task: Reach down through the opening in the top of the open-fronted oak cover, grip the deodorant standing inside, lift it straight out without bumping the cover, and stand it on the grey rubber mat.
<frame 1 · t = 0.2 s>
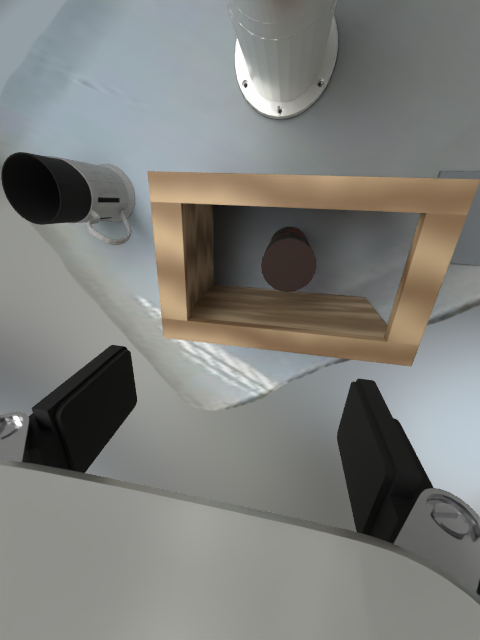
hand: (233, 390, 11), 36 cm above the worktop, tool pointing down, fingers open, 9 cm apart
cover: (288, 246, 42), on the worktop
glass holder: (124, 205, 44), on the worktop
deodorant: (288, 246, 42), resting in cover
mat: (471, 220, 37), on the worktop
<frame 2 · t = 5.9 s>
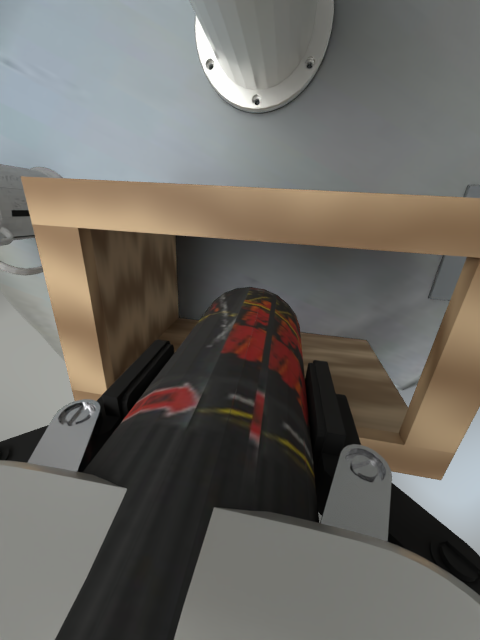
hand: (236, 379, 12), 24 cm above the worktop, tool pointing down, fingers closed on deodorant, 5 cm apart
cover: (270, 274, 33), on the worktop
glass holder: (66, 219, 35), on the worktop
deodorant: (250, 332, 16), point 19 cm above the worktop, touching gripper
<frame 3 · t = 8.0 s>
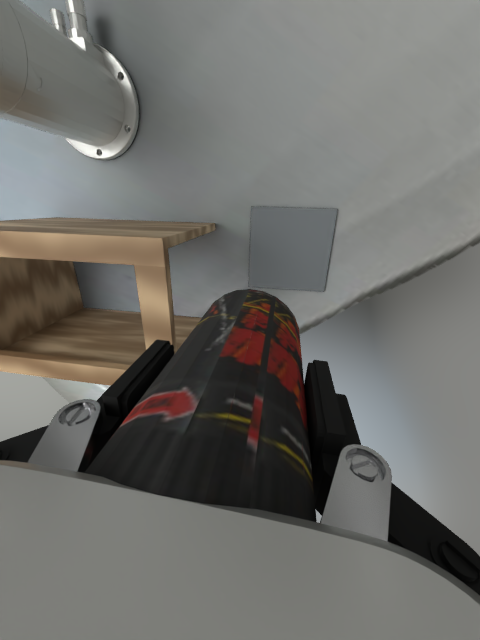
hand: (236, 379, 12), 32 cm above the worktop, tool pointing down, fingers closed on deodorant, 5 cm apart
cover: (139, 272, 45), on the worktop
deodorant: (249, 334, 16), point 27 cm above the worktop, touching gripper
mat: (289, 250, 40), on the worktop
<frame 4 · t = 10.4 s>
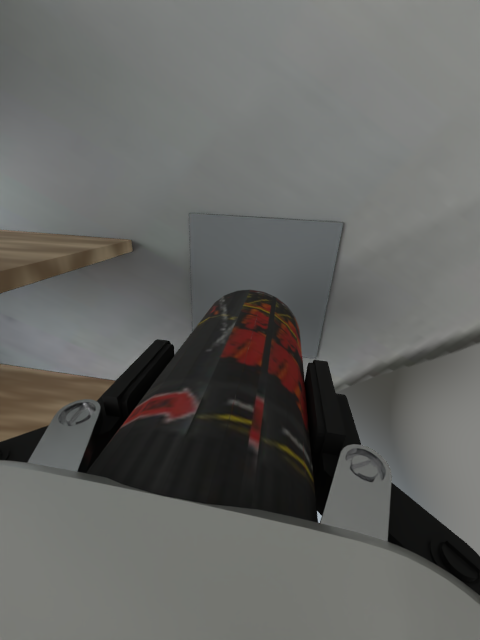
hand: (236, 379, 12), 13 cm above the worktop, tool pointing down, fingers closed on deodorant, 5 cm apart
cover: (23, 312, 28), on the worktop
deodorant: (250, 335, 16), point 8 cm above the worktop, touching gripper
mat: (257, 290, 23), on the worktop
when the fingers open (6 cm above the worktop, at t = 12.2 s): deodorant stays where it is, resting on mat.
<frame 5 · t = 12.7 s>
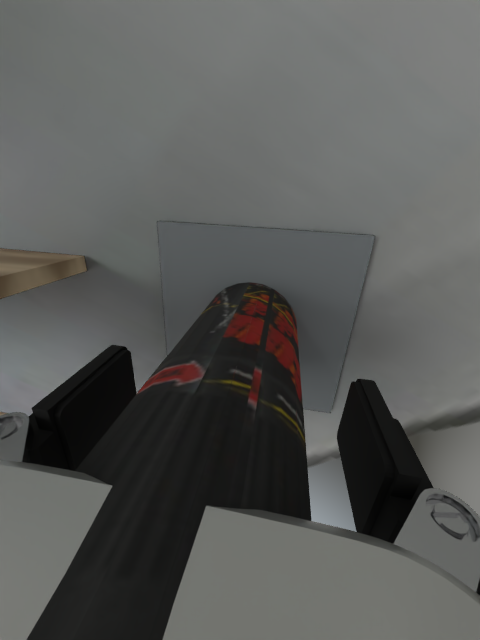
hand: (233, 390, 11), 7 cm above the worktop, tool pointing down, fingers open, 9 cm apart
deodorant: (250, 325, 17), resting on mat
mat: (253, 324, 17), on the worktop
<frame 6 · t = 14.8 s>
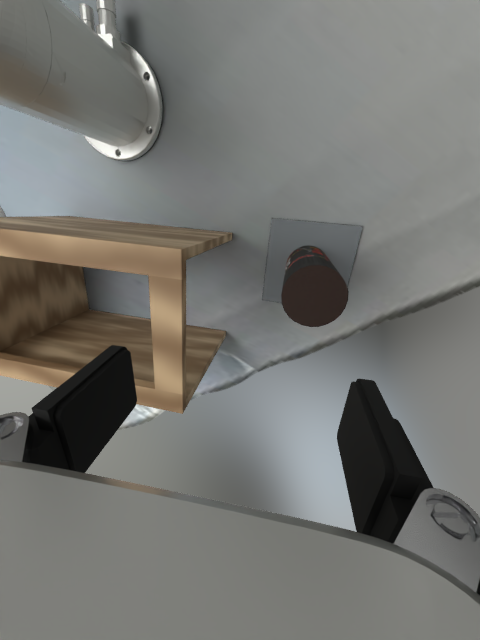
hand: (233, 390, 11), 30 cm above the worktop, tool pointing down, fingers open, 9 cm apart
cover: (149, 278, 43), on the worktop
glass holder: (0, 230, 46), on the worktop
deodorant: (306, 266, 38), resting on mat
mat: (307, 265, 38), on the worktop
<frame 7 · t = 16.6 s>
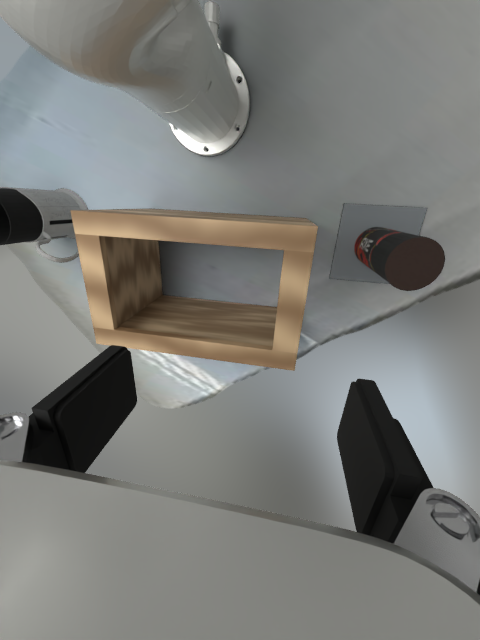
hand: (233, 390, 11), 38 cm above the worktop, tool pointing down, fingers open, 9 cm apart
cover: (224, 263, 48), on the worktop
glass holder: (81, 224, 50), on the worktop
deodorant: (373, 245, 43), resting on mat
mat: (374, 245, 43), on the worktop
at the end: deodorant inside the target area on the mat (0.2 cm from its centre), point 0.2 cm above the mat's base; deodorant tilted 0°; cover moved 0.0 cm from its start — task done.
